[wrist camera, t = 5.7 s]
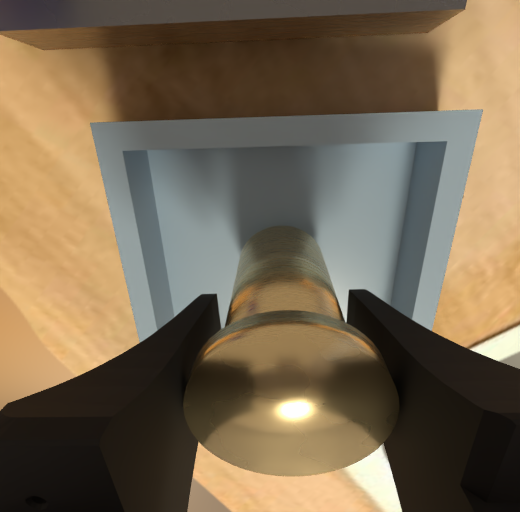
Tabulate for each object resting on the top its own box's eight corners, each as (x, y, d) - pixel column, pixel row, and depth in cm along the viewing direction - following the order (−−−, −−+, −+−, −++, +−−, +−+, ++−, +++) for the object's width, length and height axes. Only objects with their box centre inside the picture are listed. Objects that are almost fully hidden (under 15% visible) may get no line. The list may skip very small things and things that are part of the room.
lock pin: (339, 210, 13) (418, 331, 6) (333, 308, 15) (384, 477, 8) (221, 215, 13) (163, 335, 6) (232, 309, 16) (199, 475, 9)
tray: (438, 114, 13) (483, 109, 10) (393, 363, 18) (414, 404, 16) (126, 124, 14) (89, 122, 11) (170, 363, 19) (153, 402, 16)
